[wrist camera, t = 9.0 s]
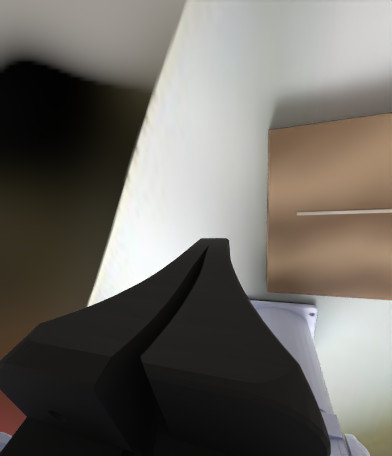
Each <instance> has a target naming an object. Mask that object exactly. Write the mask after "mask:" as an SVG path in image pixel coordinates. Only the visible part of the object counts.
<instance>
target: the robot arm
mask: <svg viewBox="0 0 392 456" xmlns="http://www.w3.org/2000/svg"><path fill="white" fill-rule="evenodd" d="M317 313H318V310H317V307H316V306H314V305H307V304H294V303H281V302H269V301H256V300H249V299H248V297H247V295H246V294H245V292H244V290H243V288H242V286H241V284H240V282H239V280H238V278H237V276H236V274H235V271H234V269H233V266H232V263H231V260H230V248H229V240H228V239H227V238H201V239H200V240H199V241H197V242H196V243H195V244H194V245H192V246H191V247H190V248H189V249H188V250H186V251H185V252H184V253H183V254H182V255H180V256H179V257H178V258H177V259H175V260H174V261H173V262H171V263H170V264H168V265H167V266H166V267H164V268H163V269H162V270H160V271H159V272H157V273H156V274H154V275H152V276H151V277H149V278H147V279H146V280H144V281H142V282H141V283H139V284H137V285H135V286H133V287H131V288H129V289H127V290H125V291H123V292H121V293H119V294H117V295H115V296H113V297H111V298H108V299H106V300H104V301H102V302H99V303H97V304H94V305H92V306H89V307H87V308H84V309H82V310H79V311H76V312H73V313H70V314H67V315H64V316H61V317H58V318H56V319H53V320H50V321H47V322H43V323H40V324H39V325H38V326H36V327H35V328H34V329H33V330H32V331H31V332H30V333H29V334H28V335H27V336H26V337H25V338H24V339H23V340H22V341H21V342H20V343H19V344H18V345H17V346H15V347H14V348H13V349H12V350H11V351H10V352H9V353H8V354H7V355H6V356H5V357H4V358H3V359H2V360H1V361H0V389H1V391H2V392H3V393H4V394H5V395H6V396H7V397H8V398H9V399H10V400H11V401H12V402H13V403H14V404H15V405H16V406H17V407H18V408H19V409H20V410H21V411H22V412H23V413H24V414H25V415H26V416H27V418H26V419H25V421H24V422H23V423H22V425H21V426H20V427H19V428H18V430H17V431H16V433H15V434H14V435H13V436H11V435H8V434H5V433H3V432H0V456H370V454H369V452H368V450H367V449H366V448H365V447H364V446H363V445H362V444H361V443H360V442H358V441H357V439H356V437H355V436H354V435H352V434H344V436H345V441H346V445H347V449H348V452H349V455H348V452H347V449H346V446H345V443H344V439H343V436H342V432H341V429H340V426H339V422H338V419H337V416H336V415H335V414H334V412H333V409H332V405H331V402H330V398H329V395H328V391H327V388H326V384H325V381H324V377H323V374H322V370H321V367H320V363H319V360H318V356H317V353H316V349H315V346H314V342H313V337H314V331H315V325H316V319H317Z"/></svg>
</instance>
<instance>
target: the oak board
mask: <svg viewBox="0 0 392 456" xmlns="http://www.w3.org/2000/svg"><path fill="white" fill-rule="evenodd" d="M266 281H267V292H277V293H291V294H306V295H321V296H336V297H351V298H366V299H381V300H392V113H385V114H378V115H371V116H364V117H357V118H349V119H342V120H335V121H328V122H321V123H314V124H307V125H300V126H293V127H286V128H279V129H272V130H268V193H267V259H266Z"/></svg>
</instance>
